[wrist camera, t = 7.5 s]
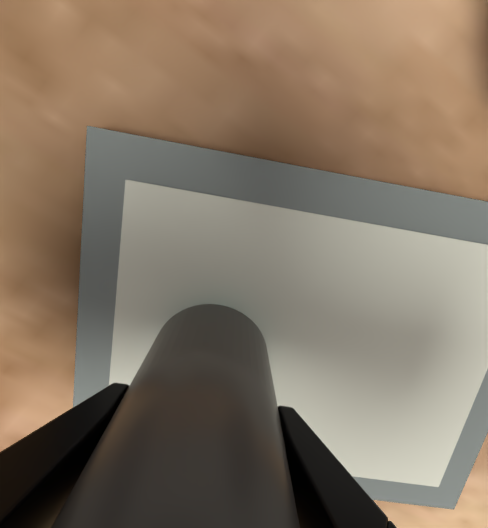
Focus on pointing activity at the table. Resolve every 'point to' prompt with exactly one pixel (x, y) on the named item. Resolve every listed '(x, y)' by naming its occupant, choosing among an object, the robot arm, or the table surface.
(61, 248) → the table surface
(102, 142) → the writing board
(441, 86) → the table surface
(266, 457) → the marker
